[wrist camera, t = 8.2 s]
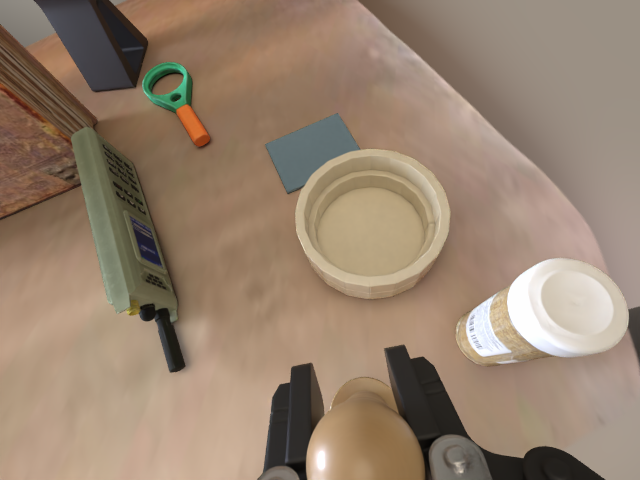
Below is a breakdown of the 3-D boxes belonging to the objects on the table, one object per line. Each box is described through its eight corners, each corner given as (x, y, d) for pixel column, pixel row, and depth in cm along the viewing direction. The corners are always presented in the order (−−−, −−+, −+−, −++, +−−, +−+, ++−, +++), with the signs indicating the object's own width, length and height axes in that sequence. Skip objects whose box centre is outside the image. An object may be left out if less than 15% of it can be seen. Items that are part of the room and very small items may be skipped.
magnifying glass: (141, 84, 45) (132, 73, 43) (181, 62, 45) (174, 51, 44) (183, 159, 39) (175, 150, 37) (228, 133, 39) (222, 123, 38)
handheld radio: (137, 161, 40) (203, 360, 30) (112, 174, 39) (170, 379, 29) (93, 122, 33) (158, 357, 23) (63, 137, 33) (115, 380, 23)
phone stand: (110, 46, 49) (35, -52, 38) (148, 41, 48) (84, -60, 37) (93, 92, 45) (6, 0, 34) (135, 88, 44) (59, -8, 33)
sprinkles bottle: (510, 373, 26) (638, 367, 14) (450, 358, 27) (519, 339, 15) (513, 315, 28) (630, 265, 16) (456, 303, 29) (524, 246, 17)
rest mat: (338, 115, 38) (337, 112, 38) (365, 160, 36) (365, 157, 35) (266, 146, 38) (264, 144, 38) (287, 194, 35) (286, 192, 35)
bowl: (396, 161, 35) (401, 128, 31) (464, 264, 30) (482, 243, 25) (286, 210, 34) (274, 183, 30) (337, 323, 29) (332, 313, 25)
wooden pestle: (381, 366, 20) (403, 342, 8) (414, 436, 19) (513, 553, 6) (321, 394, 20) (242, 419, 7) (350, 467, 19) (311, 656, 6)
